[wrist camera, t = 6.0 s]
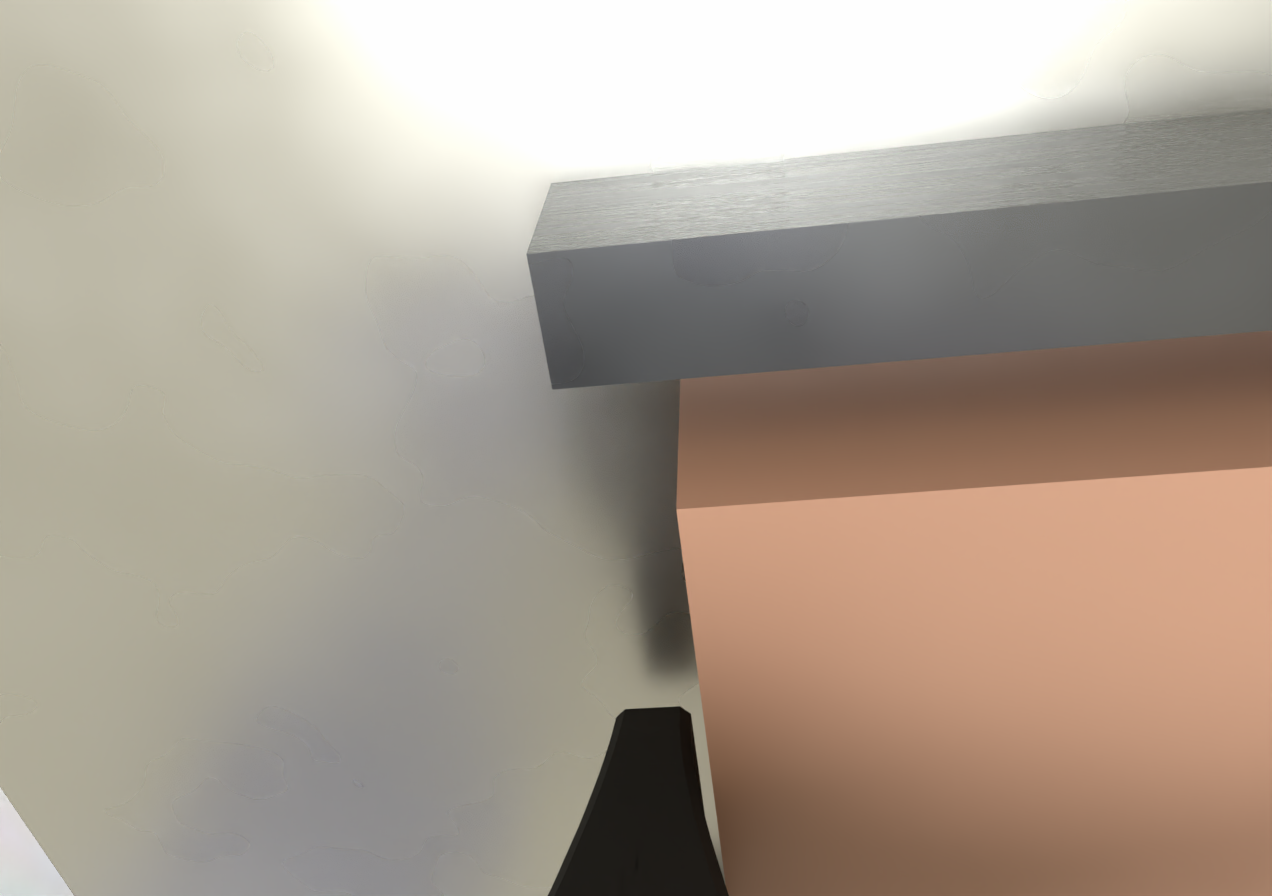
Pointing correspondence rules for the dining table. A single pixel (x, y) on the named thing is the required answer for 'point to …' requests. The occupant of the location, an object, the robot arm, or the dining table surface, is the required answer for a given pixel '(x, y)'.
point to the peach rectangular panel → (987, 621)
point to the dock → (501, 368)
